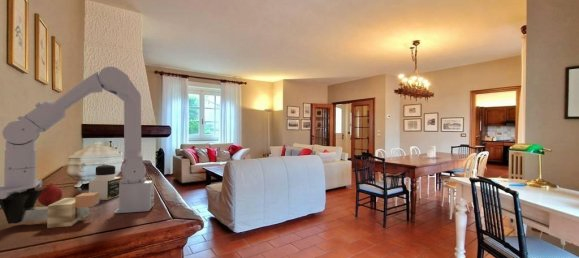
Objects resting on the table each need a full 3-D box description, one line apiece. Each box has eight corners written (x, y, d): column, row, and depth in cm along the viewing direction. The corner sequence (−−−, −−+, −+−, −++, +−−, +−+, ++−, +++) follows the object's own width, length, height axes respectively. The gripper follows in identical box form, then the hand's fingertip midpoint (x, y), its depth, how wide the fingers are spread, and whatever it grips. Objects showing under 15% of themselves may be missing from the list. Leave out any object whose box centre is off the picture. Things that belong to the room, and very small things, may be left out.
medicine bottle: (107, 200, 93) (108, 166, 93) (88, 199, 93) (88, 166, 93) (120, 195, 100) (121, 164, 100) (102, 195, 100) (103, 164, 100)
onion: (46, 210, 80) (47, 184, 80) (32, 209, 81) (32, 183, 81) (66, 205, 85) (67, 181, 86) (52, 204, 87) (53, 180, 87)
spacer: (99, 202, 74) (99, 192, 74) (92, 206, 70) (93, 195, 70) (82, 203, 72) (82, 193, 73) (75, 207, 69) (75, 196, 69)
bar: (88, 214, 73) (88, 203, 73) (83, 218, 70) (83, 206, 70) (22, 219, 68) (22, 207, 68) (13, 223, 65) (13, 211, 65)
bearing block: (85, 216, 74) (85, 196, 74) (71, 225, 67) (71, 204, 67) (64, 218, 73) (64, 198, 73) (47, 227, 65) (47, 205, 65)
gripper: (20, 165, 73) (19, 213, 72) (-24, 172, 59) (-26, 232, 59) (51, 164, 75) (50, 211, 75) (15, 171, 61) (14, 229, 61)
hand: (19, 220), depth 67 cm, fingers closed on bar, 3 cm apart
